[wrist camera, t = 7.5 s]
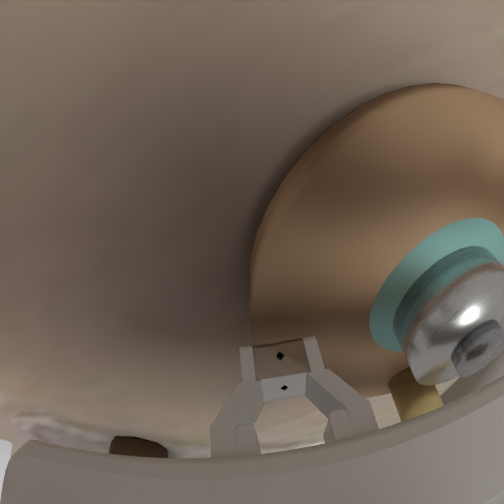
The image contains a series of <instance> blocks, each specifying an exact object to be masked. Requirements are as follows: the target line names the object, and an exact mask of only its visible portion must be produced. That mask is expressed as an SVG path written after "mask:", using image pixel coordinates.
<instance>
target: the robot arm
mask: <svg viewBox="0 0 504 504" xmlns="http://www.w3.org/2000/svg"><path fill="white" fill-rule="evenodd" d="M239 355H240V368H241V380H242V383H238V384H237V386H236V387H235V389H234V390H233V392H232V394H231V395H230V397H229V398H228V400H227V402H226V403H225V405H224V406H223V408H222V410H221V411H220V413H219V414H218V416H217V417H216V419H215V421H214V422H213V424H212V425H211V427H210V444H211V458H152V457H137V456H125V455H116V454H107V453H100V452H93V451H86V450H81V449H75V448H70V447H64V446H60V445H55V444H51V443H47V442H43V441H39V440H29V441H28V442H26V443H25V444H24V445H23V446H22V447H21V448H20V449H18V451H17V452H16V453H15V454H14V455H13V456H12V457H11V458H10V460H9V463H8V466H7V469H6V472H5V476H4V481H3V487H2V494H1V501H0V504H504V376H502V377H500V378H498V379H497V380H495V381H493V382H491V383H489V384H487V385H486V386H484V387H482V388H480V389H478V390H476V391H474V392H472V393H470V394H468V395H466V396H464V397H462V398H460V399H458V400H455V401H453V402H451V403H449V404H446V405H444V406H442V407H439V408H437V409H435V410H432V411H430V412H427V413H425V414H422V415H419V416H417V417H414V418H411V419H409V420H406V421H403V422H400V423H397V424H394V425H391V426H388V427H385V428H382V429H378V425H377V422H376V419H375V416H374V413H373V410H372V407H371V404H370V401H368V400H367V399H366V398H365V397H363V396H362V395H361V394H360V393H358V392H357V391H356V390H355V389H353V388H352V387H351V386H349V385H348V384H347V383H346V382H344V381H343V380H342V379H341V378H340V377H338V376H337V375H336V374H335V373H333V372H332V371H331V370H330V369H325V367H324V364H323V360H322V357H321V353H320V350H319V346H318V343H317V340H316V337H315V336H311V337H305V338H298V339H292V340H286V341H281V342H277V343H269V344H261V345H253V346H244V347H240V348H239ZM302 395H306V397H307V398H308V399H309V400H310V401H311V402H312V403H313V404H314V405H315V406H316V407H317V408H318V409H319V410H320V411H321V412H322V413H323V414H324V415H325V416H326V417H327V418H328V422H327V426H326V429H325V432H324V435H323V436H324V440H325V444H320V445H315V446H310V447H305V448H299V449H293V450H287V451H280V452H273V453H265V454H261V449H260V444H259V441H258V437H257V434H256V431H255V428H254V427H253V425H254V423H255V421H256V419H257V417H258V415H259V413H260V411H261V409H262V407H263V405H264V401H270V400H276V399H282V398H289V397H296V396H302Z"/></svg>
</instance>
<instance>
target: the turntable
mask: <svg viewBox="0 0 504 504" xmlns="http://www.w3.org/2000/svg"><path fill="white" fill-rule="evenodd" d="M468 246H481V247H484V248H486V249H488V250H489V251H490V252H491V253H492V254H493V255H494V256H495V257H496V259H497V260H498V261H499V262H500V263H501V264H502V265H503V266H504V100H503V99H501V98H498V97H495V96H493V95H490V94H487V93H484V92H480V91H477V90H473V89H470V88H466V87H462V86H459V85H451V84H440V83H432V84H422V85H414V86H409V87H405V88H402V89H399V90H395V91H392V92H389V93H386V94H383V95H381V96H379V97H377V98H375V99H373V100H371V101H369V102H367V103H366V104H364V105H362V106H360V107H358V108H356V109H355V110H353V111H352V112H351V113H349V114H348V115H346V116H345V117H344V118H342V119H341V120H340V121H338V122H337V123H335V124H334V125H333V126H331V127H330V128H329V129H328V130H327V131H326V132H325V133H324V134H323V135H322V136H321V137H320V138H319V139H318V140H317V141H316V142H314V143H313V144H312V145H311V146H310V147H309V148H308V149H307V150H306V151H305V153H304V154H303V155H302V156H301V158H300V159H299V160H298V161H297V163H296V164H295V165H294V167H293V168H292V169H291V170H290V172H289V173H288V174H287V175H286V177H285V178H284V180H283V182H282V183H281V185H280V187H279V188H278V190H277V192H276V193H275V195H274V197H273V198H272V200H271V202H270V203H269V205H268V207H267V210H266V212H265V214H264V217H263V219H262V221H261V224H260V226H259V228H258V231H257V234H256V238H255V241H254V245H253V249H252V253H251V257H250V265H249V274H248V290H249V303H250V313H251V322H252V332H253V336H254V339H255V343H256V345H261V344H269V343H277V342H281V341H286V340H292V339H298V338H305V337H311V336H315V337H316V340H317V343H318V346H319V350H320V353H321V357H322V360H323V364H324V367H325V369H330V370H331V371H332V372H333V373H335V374H336V375H337V376H338V377H340V378H341V379H342V380H343V381H344V382H346V383H347V384H348V385H349V386H351V387H352V388H353V389H355V390H356V391H357V392H358V393H360V394H361V395H362V396H363V397H365V398H367V397H374V396H379V395H384V394H388V393H391V394H392V397H393V400H394V402H395V405H396V408H397V410H398V413H399V416H400V419H401V422H403V421H406V420H409V419H411V418H414V417H417V416H419V415H422V414H425V413H427V412H430V411H432V410H435V409H437V408H439V407H442V406H444V405H443V403H442V400H441V398H440V396H439V394H438V391H437V389H436V387H435V385H422V384H419V383H418V382H417V381H416V379H415V377H414V375H413V373H412V370H411V368H410V366H409V364H408V362H407V359H406V357H405V355H404V353H403V351H402V349H401V347H400V344H399V342H398V340H397V338H396V336H395V334H394V331H393V320H394V316H395V313H396V310H397V307H398V306H399V304H400V302H401V300H402V298H403V297H404V295H405V294H406V292H407V291H408V290H409V288H410V287H411V286H412V285H413V283H414V282H415V281H416V280H417V279H418V278H419V277H420V276H421V275H422V274H423V273H424V272H425V271H426V270H427V269H428V268H430V267H431V266H432V265H433V264H434V263H436V262H437V261H439V260H440V259H441V258H443V257H445V256H446V255H448V254H450V253H452V252H454V251H456V250H458V249H461V248H464V247H468Z"/></svg>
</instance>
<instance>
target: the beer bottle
mask: <svg viewBox="0 0 504 504" xmlns="http://www.w3.org/2000/svg"><path fill="white" fill-rule="evenodd" d="M109 454H116V455H125V456H137V457H152V458H168V457H167V450H166V449H165V448H163V447H162V446H160V445H159V444H158V443H156V442H152V441H148V440H144V439H140V438H136V437H119V436H116V437H115V439H114V440H113V441H112V443H111V445H110V450H109Z"/></svg>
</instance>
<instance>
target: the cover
mask: <svg viewBox="0 0 504 504" xmlns="http://www.w3.org/2000/svg"><path fill="white" fill-rule="evenodd" d="M393 331H394V334H395V336H396V338H397V340H398V342H399V344H400V347H401V349H402V351H403V353H404V355H405V357H406V359H407V362H408V364H409V366H410V368H411V370H412V373H413V375H414V377H415V379H416V381H417V382H418V383H419V384H422V385H436V384H440V383H444V382H446V381H449V380H452V379H454V378H456V377H458V376H460V377H467V376H470V375H472V374H474V373H476V372H478V371H479V370H481V369H482V368H484V367H485V366H486V365H488V364H489V363H490V362H491V361H492V360H493V359H494V358H495V357H496V356H497V355H498V354H499V353H500V352H501V351H502V349H503V348H504V266H503V265H502V264H501V263H500V262H499V261H498V260H497V259H496V257H495V256H494V255H493V254H492V253H491V252H490V251H489V250H488V249H486V248H484V247H481V246H468V247H464V248H461V249H458V250H456V251H454V252H452V253H450V254H448V255H446V256H445V257H443V258H441V259H440V260H439V261H437V262H436V263H434V264H433V265H432V266H431V267H430V268H428V269H427V270H426V271H425V272H424V273H423V274H422V275H421V276H420V277H419V278H418V279H417V280H416V281H415V282H414V283H413V285H412V286H411V287H410V288H409V290H408V291H407V292H406V294H405V295H404V297H403V298H402V300H401V302H400V304H399V306H398V307H397V310H396V313H395V316H394V320H393Z"/></svg>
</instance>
